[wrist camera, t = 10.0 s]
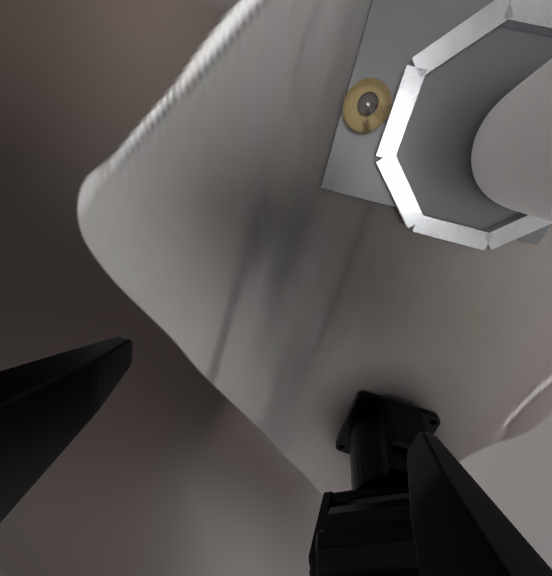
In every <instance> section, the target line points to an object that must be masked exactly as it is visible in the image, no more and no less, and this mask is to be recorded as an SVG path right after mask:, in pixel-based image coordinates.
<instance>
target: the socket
mask: <svg viewBox="0 0 552 576" xmlns="http://www.w3.org/2000/svg"><path fill="white" fill-rule="evenodd" d="M498 27H503V28H508V29H512V30H517V31H522V32H527V33H532V34H537V35H542V36H546V37H551V38H552V0H494V1H493V2H491V3H490V4H488V5H487V6H485V7H484V8H483V9H481V10H480V11H478V12H477V13H475V14H474V15H473V16H471V17H470V18H468V19H467V20H465V21H464V22H463V23H461V24H460V25H458V26H457V27H455V28H454V29H453V30H451V31H450V32H448V33H447V34H445V35H444V36H443V37H441V38H440V39H438V40H437V41H435V42H434V43H433V44H431V45H430V46H428V47H427V48H425V49H424V50H423V51H421V52H420V53H418V54H417V55H415V56H414V57H413V58H412V59H411V60H410V61H409V63H408V64H409V65H407V66H406V67H405V68H404V70H403V73H402V76H401V79H400V82H399V85H398V88H397V91H396V94H395V97H394V100H393V103H392V106H391V110H390V113H389V115H388V118H387V120H386V123H385V126H384V129H383V132H382V135H381V138H380V141H379V144H378V147H377V150H376V153H375V156H376V157H380V158H381V159H379V160H378V161H376V162H375V164H376V166H377V168H378V170H379V172H380V175H381V177H382V179H383V181H384V183H385V185H386V187H387V189H388V191H389V193H390V195H391V197H392V200H393V202H394V204H395V206H396V208H397V210H398V212H399V214H400V216H401V218H402V220H403V222H404V225H405V226H406V227H407V228H409V227H410V228H409V229H410V230H411V231H413V232H416V233H420V234H424V235H428V236H432V237H435V238H439V239H443V240H447V241H450V242H454V243H458V244H462V245H465V246H469V247H473V248H477V249H481V250H484V251H485V249H486V248H488V249H490V250H492V249H495V248H497V247H499V246H501V245H504V244H506V243H508V242H511V241H513V240H515V239H517V238H520V237H522V236H524V235H527V234H529V233H531V232H533V231H536V230H538V229H540V228H543V227H545V226H547V225H549V224H552V222H551V221H547V220H544V219H540V218H537V217H534V216H530V215H527V214H524V213H519V214H517V215H515V216H513V217H510V218H508V219H506V220H504V221H502V222H500V223H497V224H495V225H493V226H491V227H489V228H487V229H484V230H481V229H477V228H473V227H469V226H465V225H462V224H458V223H454V222H450V221H446V220H442V219H438V218H435V217H431V216H427V215H423V214H422V212H421V210H420V207H419V205H418V203H417V201H416V199H415V196H414V194H413V192H412V190H411V188H410V186H409V183H408V181H407V179H406V177H405V175H404V172H403V170H402V168H401V166H400V164H399V162H398V159H397V157H396V154H397V151H398V148H399V145H400V143H401V140H402V137H403V134H404V132H405V129H406V126H407V123H408V121H409V118H410V115H411V112H412V110H413V107H414V104H415V101H416V99H417V96H418V93H419V90H420V88H421V85H422V82H423V79H424V77H425V76H426V75H428V74H429V73H431V72H432V71H434V70H435V69H437V68H438V67H440V66H441V65H443V64H444V63H446V62H447V61H449V60H450V59H452V58H453V57H455V56H456V55H458V54H459V53H461V52H462V51H464V50H465V49H467V48H468V47H470V46H471V45H473V44H474V43H476V42H477V41H479V40H480V39H482V38H483V37H485V36H486V35H488V34H489V33H491V32H492V31H494V30H495V29H497V28H498Z"/></svg>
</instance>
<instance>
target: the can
mask: <svg viewBox="0 0 552 576" xmlns="http://www.w3.org/2000/svg"><path fill="white" fill-rule="evenodd" d="M471 166H472V172H473V175H474V178H475V181H476V183H477V185H478V186H479V188H480V189H481V191H482V192H483V193H484V194H485V195H486V196H487V197H488V198H490V199H491V200H492V201H494V202H495V203H497V204H499V205H501V206H503V207H506V208H508V209H511V210H514V211H517V212H521V213H524V214H527V215H530V216H534V217H537V218H540V219H544V220H547V221H551V222H552V59H550V60H549V61H548V62H547V63H545V64H544V65H543V66H542V67H540V68H539V69H538V70H536V71H535V72H534V73H533V74H531V75H530V76H529V77H528V78H526V79H525V80H524V81H522V82H521V83H520V84H519V85H517V86H516V87H515V88H514V89H513V90H511V91H510V92H509V93H508V94H506V95H505V96H504V97H503V98H502V99H501V100H500V101H499V102H498V103H497V104H496V105H495V106H494V107H493V108H492V110H491V111H490V112H489V113H488V115H487V116H486V118H485V119H484V121H483V122H482V124H481V126H480V128H479V130H478V132H477V134H476V137H475V140H474V143H473V147H472V154H471Z"/></svg>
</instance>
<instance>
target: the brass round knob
mask: <svg viewBox="0 0 552 576" xmlns="http://www.w3.org/2000/svg"><path fill="white" fill-rule="evenodd" d="M391 105H392V97H391V93H390V90H389V88H388V87H387V85H386V84H385V83H384V82H383V81H381V80H379V79H376V78H365V79H362V80H360V81H358V82H357V83H355V84H354V85H353V86H352V87H351V88H350V90H349V91H348V93H347V94H346V97H345V99H344V104H343V119H344V122H345V124H346V126H347V127H348V128H349V129H350V130H351V131H352V132H354V133H357V134H367V133H370V132H373V131H374V130H376V129H377V128H378V127H379V126H380V125H381V124H382V123H383V122H384V121H385V120H386V118H387V117H388V115H389V113H390V110H391Z"/></svg>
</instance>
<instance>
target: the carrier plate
mask: <svg viewBox="0 0 552 576" xmlns="http://www.w3.org/2000/svg"><path fill="white" fill-rule="evenodd" d="M493 1H494V0H373V1H372V5H371V8H370V12H369V16H368V19H367V23H366V26H365V30H364V34H363V37H362V41H361V44H360V48H359V52H358V55H357V59H356V62H355V66H354V69H353V73H352V77H351V80H350V84H349V87H348V91H349V90H350V88H351V87H352V86H353V85H354V84H355V83H357V82H358V81H360V80H362V79H365V78H376V79H379V80H381V81H383V82H384V83H385V84H386V85H387V87H388V88H389V90H390V93H391V97H392V103H393V100H394V97H395V94H396V91H397V88H398V85H399V82H400V79H401V76H402V73H403V70H404V68H405V67H406V66H407V65H409V64H408V63H409V61H410V60H411V59H412V58H413V57H414V56H415V55H417V54H418V53H420V52H421V51H423V50H424V49H425V48H427V47H428V46H430V45H431V44H433V43H434V42H435V41H437V40H438V39H440V38H441V37H443V36H444V35H445V34H447V33H448V32H450V31H451V30H453V29H454V28H455V27H457V26H458V25H460V24H461V23H463V22H464V21H465V20H467V19H468V18H470V17H471V16H473V15H474V14H475V13H477V12H478V11H480V10H481V9H483V8H484V7H485V6H487V5H488V4H490V3H491V2H493ZM550 59H552V38H551V37H546V36H542V35H537V34H532V33H527V32H522V31H517V30H512V29H508V28H503V27H498V28H497V29H495V30H494V31H492V32H491V33H489V34H488V35H486V36H485V37H483V38H482V39H480V40H479V41H477V42H476V43H474V44H473V45H471V46H470V47H468V48H467V49H465V50H464V51H462V52H461V53H459V54H458V55H456V56H455V57H453V58H452V59H450V60H449V61H447V62H446V63H444V64H443V65H441V66H440V67H438V68H437V69H435V70H434V71H432V72H431V73H429V74H428V75H426V76H425V77H424V79H423V82H422V85H421V88H420V90H419V93H418V96H417V99H416V101H415V104H414V107H413V110H412V112H411V115H410V118H409V121H408V123H407V126H406V129H405V132H404V134H403V137H402V140H401V143H400V145H399V148H398V151H397V154H396V157H397V159H398V162H399V164H400V166H401V168H402V170H403V172H404V175H405V177H406V179H407V181H408V183H409V186H410V188H411V190H412V192H413V194H414V196H415V199H416V201H417V203H418V205H419V207H420V210H421V212H422V214H423V215H427V216H431V217H435V218H438V219H442V220H446V221H450V222H454V223H458V224H462V225H465V226H469V227H473V228H477V229H481V230H484V229H487V228H489V227H491V226H493V225H495V224H497V223H500V222H502V221H504V220H506V219H508V218H510V217H513V216H515V215H517V214H519V213H521V212H517V211H514V210H511V209H508V208H506V207H503V206H501V205H499V204H497V203H495V202H494V201H492V200H491V199H490V198H488V197H487V196H486V195H485V194H484V193H483V192H482V191H481V189H480V188H479V186H478V185H477V183H476V181H475V178H474V175H473V172H472V166H471V154H472V147H473V143H474V140H475V137H476V134H477V132H478V130H479V128H480V126H481V124H482V122H483V121H484V119H485V118H486V116H487V115H488V113H489V112H490V111H491V110H492V108H493V107H494V106H495V105H496V104H497V103H498V102H499V101H500V100H501V99H502V98H503V97H504V96H505V95H506V94H508V93H509V92H510V91H511V90H513V89H514V88H515V87H516V86H517V85H519V84H520V83H521V82H522V81H524V80H525V79H526V78H528V77H529V76H530V75H531V74H533V73H534V72H535V71H536V70H538V69H539V68H540V67H542V66H543V65H544V64H545V63H547V62H548V61H549V60H550ZM348 91H347V93H348ZM391 106H392V105H391ZM387 118H388V117H387ZM387 118H386V120H387ZM386 120H385V121H384V122H383V123H382V124H381V125H380V126H379V127H378V128H377V129H376V130H374V131H373V132H370V133H367V134H357V133H354V132H352V131H351V130H350V129H349V128H348V127H347V126H346V124H345V122H344V119H343V109H342V113H341V116H340V120H339V123H338V127H337V130H336V134H335V138H334V141H333V145H332V148H331V152H330V156H329V159H328V163H327V166H326V170H325V174H324V177H323V181H322V184H321V188H323V189H327V190H331V191H335V192H338V193H342V194H346V195H350V196H354V197H358V198H361V199H365V200H369V201H373V202H377V203H381V204H385V205H388V206H392V207H396V206H395V204H394V202H393V200H392V197H391V195H390V193H389V191H388V189H387V187H386V185H385V183H384V181H383V179H382V177H381V175H380V172H379V170H378V168H377V166H376V164H375V162H376V161H378V160H379V159H381V158H380V157H376V156H375V153H376V150H377V147H378V144H379V141H380V138H381V135H382V132H383V129H384V126H385V123H386ZM549 225H550V224H549ZM549 225H547V226H545V227H543V228H540V229H538V230H536V231H533V232H531V233H529V234H527V235H524V236H522V237H520V238H517V239H519V240H523V241H527V242H531V243H535V244H538V243H539V241H540V240H541V238H542V236H543V235H544V233H545V232H546V230H547V228H548V227H549Z"/></svg>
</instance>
